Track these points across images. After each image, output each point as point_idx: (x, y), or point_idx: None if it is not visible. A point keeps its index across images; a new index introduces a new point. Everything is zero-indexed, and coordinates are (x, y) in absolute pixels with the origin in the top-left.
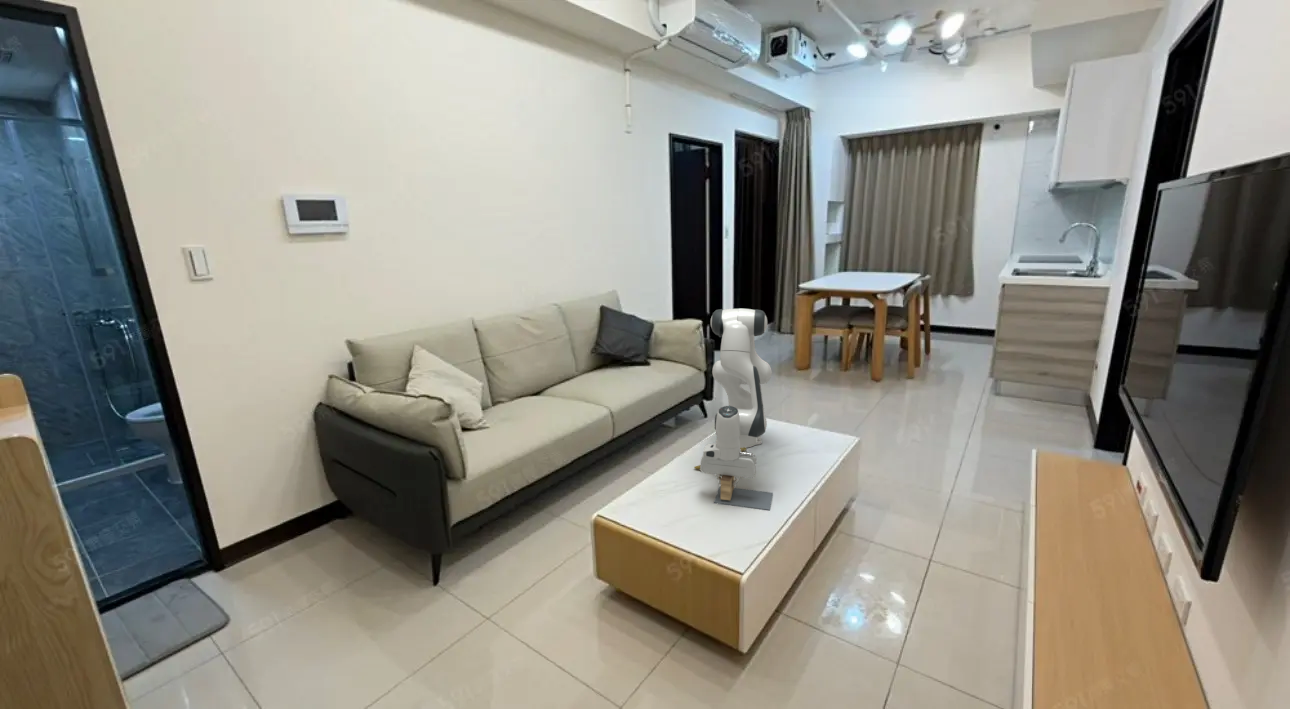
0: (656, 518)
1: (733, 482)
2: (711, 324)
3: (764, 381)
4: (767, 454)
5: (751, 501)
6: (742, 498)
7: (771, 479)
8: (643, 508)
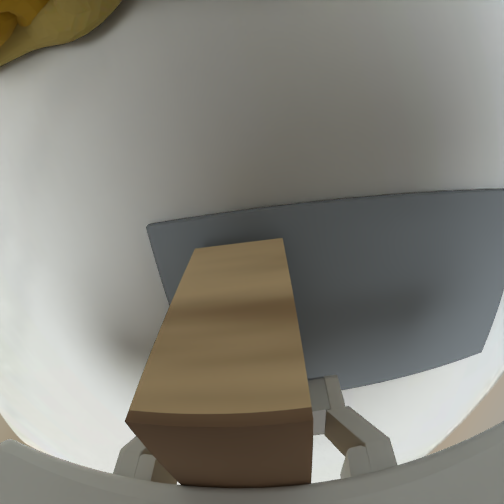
0: (100, 460)
1: (316, 434)
2: None
3: None
4: None
5: (415, 333)
6: (364, 328)
7: (483, 3)
8: (42, 429)
